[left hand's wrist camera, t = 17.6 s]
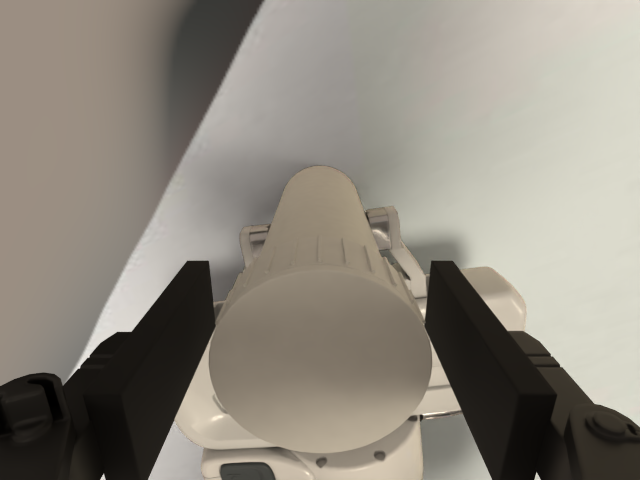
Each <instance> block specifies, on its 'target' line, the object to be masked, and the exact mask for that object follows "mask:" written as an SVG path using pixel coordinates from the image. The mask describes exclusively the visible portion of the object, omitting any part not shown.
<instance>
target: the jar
mask: <svg viewBox="0 0 640 480" xmlns="http://www.w3.org/2000/svg"><path fill="white" fill-rule="evenodd" d="M318 235H322V237H333V238H340V239H342V237H344V238H346V240H349V241H352V242H355V243H358V244H360V245H363V246H364V245H367V246H368V248H369V249H371V250H373V251H374V252H376V253H377V254H379V255H380V252H379V249H378V247H377V244H376V241H375V239H374V236H373V233H372V231H371V228H370V225H369V223H368V220H367V217H366V215H365V212H364V209H363V207H362V204H361V201H360V198H359V196H358V193H357V190H356V188H355V186H354V184H353V183H352V181H351V180H350V179H349V178H348V177H347V176H346V175H345V174H344V173H342V172H341V171H339V170H337V169H335V168H332V167H328V166H313V167H309V168H306V169H303V170H301V171H300V172H298V173H297V174H295V175H294V176H293V177H292V178H291V179H290V180H289V182H288V183H287V185H286V187H285V189H284V191H283V194H282V196H281V199H280V202H279V205H278V207H277V210H276V213H275V216H274V218H273V221H272V224H271V226H270V229H269V232H268V235H267V237H266V240H265V243H264V245H263V248H262V251H261V254H260V256H261V255H262V254H263V253H265V252H267V251H268V250H270V249H271V248H272V246H274V245H275V246H278V245H281V244H283V243H286V242H289V241H292V240H294V238H298V239H300V238H308V237H318ZM380 256H381V255H380Z"/></svg>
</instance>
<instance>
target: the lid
mask: <svg viewBox="0 0 640 480" xmlns="http://www.w3.org/2000/svg"><path fill="white" fill-rule="evenodd" d="M424 323H426V322H425V320H424V317H423V315H422V313H421V311H420V309H419V307H418V304H417V302H416V300H415V298H414V296H413V294H412V291H411V289H410V290H409V289H408V286H407V284H406V282H405V280H404V278H403V275H402V273H401V272H399V273H398V272H397V271H396V270H395V269H394V267H393V266H392V265H391V264H390V263H389V262H388V259H387V258H386V257H385V256H384V257H381V256H380V255H379V254H377V253H376V252H374V251H373V250H371V249H369V248H368V246H367V245H364V246H363V245H360V244H358V243H355V242H352V241H349V240H346V238H344V237H342V239H340V238H333V237H322V235H318V237H308V238H300V239H298V238H294V240H292V241H289V242H286V243H283V244H281V245H278V246H275V245H274V246H272V248H271V249H270V250H268V251H267V252H265V253H263V254H262V255H261V256H259V257H258V258H256V257H255V258H253V260H252V263H251V264H250V265H249V266H248V267H247V268H246V269H245V271H244V272H243V273H239V274H238V277H237V279H236V281H235V283H234V286H233V288H232V290H230V291H229V293H228V295H227V297H226V300H225V302H224V304H223V306H222V308H221V311H220V313H219V315H218V317H217V319H216V322H215V324H217V327H216V329H215V332H214V335H213V338H212V340H211V343H210V350H209V372H210V378H211V382H212V385H213V388H214V391H215V393H216V395H217V397H218V399H219V401H220V403H221V404H222V406H223V407H224V409H225V410H226V411H227V412H228V414H229V415H230V416H231V417H232V418H233V419H234V420H235V421H236V422H237V423H238V424H239V425H240V426H241V427H243V428H244V429H245V430H247V431H248V432H250V433H251V434H253V435H254V436H256V437H258V438H260V439H262V440H263V441H266V442H268V443H270V444H273V445H275V446H278V447H282V448H285V449H288V450H293V451H299V452H307V453H334V452H342V451H347V450H352V449H356V448H359V447H362V446H365V445H368V444H370V443H373V442H375V441H377V440H379V439H381V438H383V437H385V436H386V435H388V434H390V433H391V432H393V431H394V430H395V429H397V428H398V427H399V426H401V425H402V424H403V423H404V422H405V421H406V420H407V419H408V418H409V417H410V416H411V415H412V413H413V412H414V411H415V410H416V409H417V407H418V405H419V404H420V402H421V401H422V399H423V397H424V395H425V392H426V390H427V388H428V385H429V381H430V377H431V371H432V350H431V345H430V340H429V337H428V335H427V332H426V330H425V327H424V325H423V324H424Z"/></svg>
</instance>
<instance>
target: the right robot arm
mask: <svg viewBox="0 0 640 480" xmlns="http://www.w3.org/2000/svg"><path fill="white" fill-rule="evenodd" d="M366 217H367V220H368V223H369V225H370V228H371V231H372V233H373V236H374V239H375V241H376V244H377V247H378V249H379V250H387V249H388V250H389V251H390V253H391V254H392V255H393V257H394V258H395V259H396V260H397V262H398V263H394V264H393V265H392V266H393V267H394V269H395V270H396V271H397V272H398V273H399V272H401V273H402V275H403V278H404V280H405V282H406V284H407V286H408V289H409V290H410V289H411V291H412V294H413V296H414V298H415V300H416V302H417V304H418V307H419V309H420V311H421V313H422V315H423V317H424V320H425V313H426V304H427V295H428V286H429V277H430V274H424V273H423V271H422V269H421V267H420V266H419V264H418V262H417V260H416V259H415V258H414V256H413V255H412V254H411V252H410V251H409V250H408V249H407V247H406V246H405V245H404V243H403V242H402V241H401V237H400V225H399V217H398V213H397V211H396V209H395V208H394V206H389V207H381V208H375V209H368V210H366ZM270 226H271V224H263V225H255V226H247V227H243V229H242V231H241V233H240V246H241V250H242V254H243V258H244V263H245V267H244V269H243V272H244V271H245V269H246V268H247V267H248V266H249V265H250V264H251V263H252V260H253V258H255V257H256V258H258V257H259V256H260V254H261V251H262V248H263V245H264V243H265V240H266V237H267V235H268V232H269V229H270ZM460 271H461V272H462V274H463V275H464V276H465V277H466V279H467V280H468V281H469V282H470V284H471V285H472V286H473V288H474V289H475V290H476V291H477V293H478V294H479V295H480V296H481V298H482V299H483V300H484V302H485V303H486V304H487V305H488V307H489V308H490V309H491V310H492V312H493V313H494V314H495V316H496V317H497V318H498V319H499V321H500V322H501V323H502V324H503V326H504V327H505V328H506V330H507V331H525V324H526V313H527V311H526V304H525V301H524V300H523V298H522V296H521V295H520V294H519V292H518V291H517V290H516V289H515V288H514V287H513V286H512V285H511V283H509V282H508V281H507V280H506V279H505V278H504V277H503V276H501V275H500V274H499V273H498V272H496V271H495V270H494V269H492V268H490V267H476V268H469V269H461V270H460ZM243 272H242V273H243ZM224 302H225V301H218V302H213V304H214V313H215V322H216V319H217V317H218V315H219V313H220V311H221V308H222V306H223V304H224ZM423 325H424V324H423ZM216 327H217V324H216ZM216 327H215V329H216ZM215 329H214V332H215ZM425 330H426V329H425ZM214 332H213V334H212V336H211V338H210V341H209V343H208V345H207V347H206V350H205V352H204V354H203V356H202V359H201V361H200V363H199V365H198V368H197V370H196V372H195V374H194V377H193V379H192V381H191V383H190V386H189V388H188V390H187V392H186V395H185V397H184V399H183V401H182V404H181V406H180V408H179V410H178V413H177V415H176V417H175V419H174V421H175V422H176V424H177V426H178V427H179V429H180V430H181V432H182V433H183V434H184V435H185V436H186V437H187V438H188V439H189V440H191V441H192V442H193V443H195V444H197V445H199V446H201V447H204V450H203V456H202V462H201V472H202V475H203V478H204V479H205V480H423V454H422V440H421V428H420V422H421V420H427V419H436V418H445V417H450V416H454V415H458V414H463V413H462V410H461V408H460V406H459V404H458V401H457V399H456V397H455V395H454V392H453V390H452V388H451V386H450V383H449V381H448V379H447V377H446V374H445V372H444V370H443V368H442V365H441V363H440V361H439V359H438V356H437V354H436V352H435V350H434V347H433V345H432V343H431V341H430V345H431V350H432V371H431V377H430V381H429V385H428V388H427V390H426V392H425V395H424V397H423V399H422V401H421V402H420V404H419V405H418V407H417V409H416V410H415V411H414V412H413V413H412V415H411V416H410V417H409V418H408V419H407V420H406V421H405V422H404V423H403V424H402V425H401V426H399V427H398V428H397V429H395V430H394V431H393V432H391V433H390V434H388V435H386V436H385V437H383V438H381V439H379V440H377V441H375V442H373V443H370V444H368V445H365V446H362V447H359V448H356V449H352V450H347V451H342V452H334V453H307V452H299V451H293V450H288V449H285V448H282V447H278V446H275V445H273V444H270V443H268V442H266V441H263V440H262V439H260V438H258V437H256V436H254V435H253V434H251V433H250V432H248V431H247V430H245V429H244V428H243V427H241V426H240V425H239V424H238V423H237V422H236V421H235V420H234V419H233V418H232V417H231V416H230V415H229V414H228V412H227V411H226V410H225V409H224V407H223V406H222V404H221V403H220V401H219V399H218V397H217V395H216V393H215V391H214V388H213V385H212V382H211V378H210V372H209V350H210V343H211V340H212V338H213V335H214ZM427 335H428V334H427ZM428 337H429V336H428ZM429 340H430V338H429Z"/></svg>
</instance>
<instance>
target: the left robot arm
mask: <svg viewBox="0 0 640 480" xmlns="http://www.w3.org/2000/svg"><path fill="white" fill-rule="evenodd" d="M425 322H426V323H424V327H425V329H426V332H427V334H428V336H429V338H430V341H431V343H432V345H433V347H434V350H435V352H436V354H437V356H438V359H439V361H440V363H441V365H442V368H443V370H444V372H445V374H446V377H447V379H448V381H449V383H450V386H451V388H452V390H453V392H454V395H455V397H456V399H457V401H458V404H459V406H460V408H461V410H462V413H463V415H464V417H465V419H466V422H467V424H468V426H469V428H470V431H471V433H472V435H473V437H474V440H475V442H476V444H477V446H478V449H479V451H480V453H481V455H482V458H483V460H484V462H485V464H486V467H487V469H488V471H489V473H490V476H491V478H492V480H534V479H535V475H536V472H537V473H538V475H539V477H540V479H541V480H640V427H639V426H638V425H636V424H635V423H634V422H633V421H632V420H631V419H629V418H628V417H626V416H624V415H622V414H621V413H619V412H617V411H615V410H613V409H610V408H607V407H604V406H602V405H596V404H594V403H593V402H592V401H591V400H590V398H589V397H588V396H587V395H586V394H585V393H584V392H583V390H582V389H581V388H580V387H579V386H578V385H577V384H576V382H575V381H574V380H573V379H572V378H571V377H570V376H569V375H568V373H567V372H566V371H565V370H564V369H563V368H562V367H560V364H559V363H558V362H557V361H556V360H555V359H554V357H551V354H550V353H549V352H548V351H547V350H546V348H545V347H544V346H543V345H542V344H541V343H540V342H539V341H538V340H536V339H535V338H533V337H532V336H530V335H529V334H527V333H525V332H524V331H507V330H506V328H505V327H504V326H503V324H502V323H501V322H500V321H499V319H498V318H497V317H496V316H495V314H494V313H493V312H492V310H491V309H490V308H489V307H488V305H487V304H486V303H485V302H484V300H483V299H482V298H481V296H480V295H479V294H478V293H477V291H476V290H475V289H474V288H473V286H472V285H471V284H470V282H469V281H468V280H467V279H466V277H465V276H464V275H463V274H462V272H461V271H460V270H459V268H458V267H457V266H456V265H455V263H454V262H453V261H431V269H430V277H429V286H428V295H427V304H426V313H425ZM215 327H216V324H215V313H214V304H213V295H212V286H211V277H210V269H209V261H187V262H186V263H185V265H184V266H183V267H182V268H181V270H180V271H179V272H178V274H177V275H176V276H175V277H174V279H173V280H172V281H171V282H170V284H169V285H168V286H167V288H166V289H165V290H164V291H163V293H162V294H161V295H160V296H159V298H158V299H157V300H156V302H155V303H154V304H153V305H152V307H151V308H150V309H149V310H148V312H147V313H146V314H145V316H144V317H143V318H142V319H141V321H140V322H139V323H138V324H137V326H136V327H135V328H134V330H133V331H132V332H117V333H115V334H114V335H112V336H111V337H109V338H107V339H106V340H104V341H103V342H101V343H100V344H99V345H98V347H97V348H96V349H95V350H94V351H93V352H92V353H91V355H90V358H87V359H86V360H85V361H84V363H83V364H82V365H81V367H80V369H77V371H76V372H75V373H74V374H73V375H72V376H71V377H70V379H69V380H68V381H67V382H66V383H65V384H64V386H63V385H62V382H61V379H60V378H59V377H58V376H56V375H55V374H50V373H36V374H29V375H26V376H23V377H20V378H17V379H14V380H12V381H10V382H8V383H6V384H4V385H2V386H0V480H100V479H101V477H102V475H103V474H104V475H105V479H106V480H148V478H149V476H150V473H151V471H152V469H153V467H154V464H155V462H156V460H157V458H158V455H159V453H160V451H161V449H162V446H163V444H164V442H165V440H166V437H167V435H168V433H169V431H170V428H171V426H172V424H173V422H174V419H175V417H176V415H177V413H178V410H179V408H180V406H181V404H182V401H183V399H184V397H185V395H186V392H187V390H188V388H189V386H190V383H191V381H192V379H193V377H194V374H195V372H196V370H197V368H198V365H199V363H200V361H201V359H202V356H203V354H204V352H205V350H206V347H207V345H208V343H209V341H210V338H211V336H212V334H213V332H214V329H215Z"/></svg>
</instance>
